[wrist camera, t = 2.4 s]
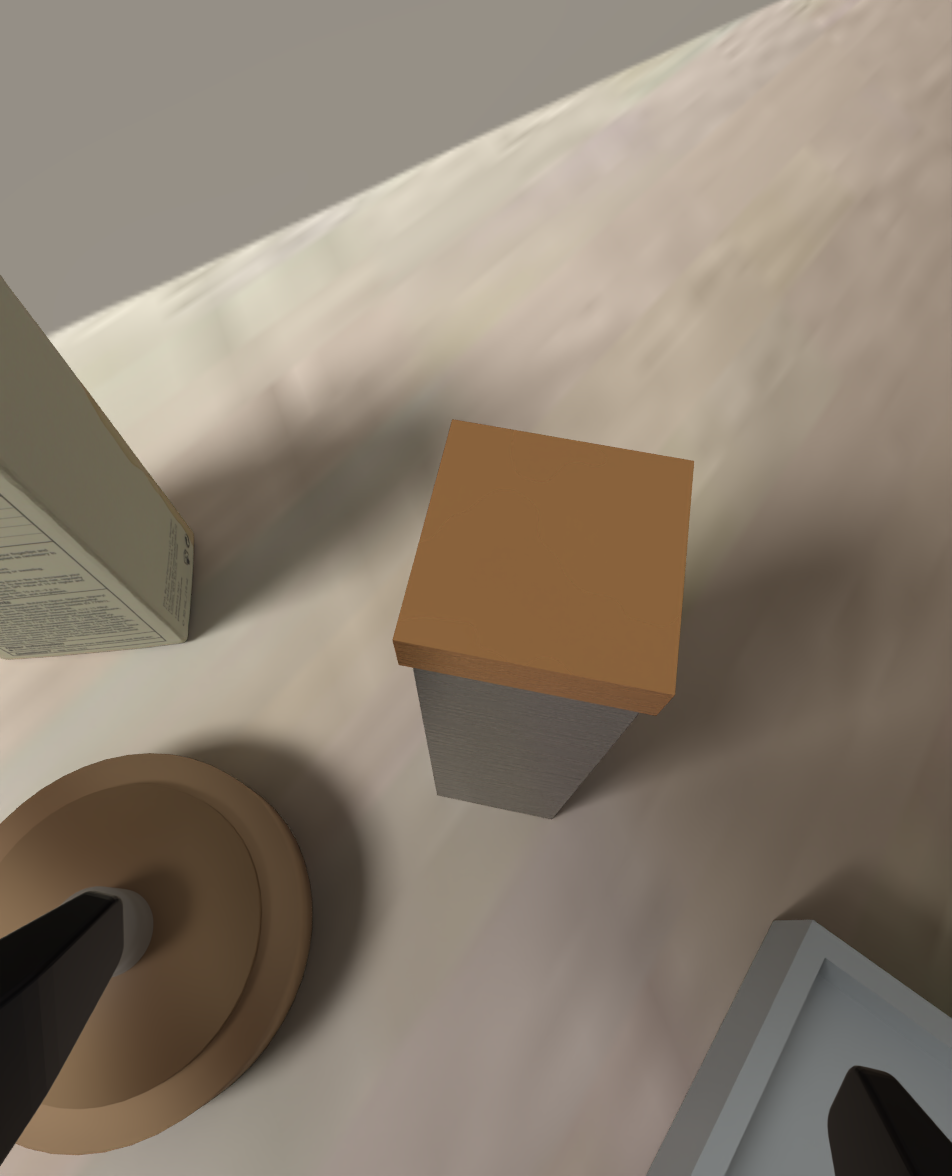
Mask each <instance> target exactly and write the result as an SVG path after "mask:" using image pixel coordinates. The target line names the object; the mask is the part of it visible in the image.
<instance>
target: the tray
mask: <svg viewBox="0 0 952 1176" xmlns="http://www.w3.org/2000/svg"><path fill="white" fill-rule="evenodd" d="M855 1065H859V1066H864V1067H868V1068H873V1069H877V1070H881V1071H885V1072H887V1073H889V1074H891V1075H892V1076H893V1077H894V1078H896V1079H897V1080H898V1081H899V1083H900V1084H901V1085H902V1086H903V1087H904V1088H905V1089H906V1091H907V1092H908V1093H909V1094H910V1095H911V1096H912V1097H913V1099H914V1100H915V1101H916V1102H917V1103H918V1104H919V1105H920V1107H921V1108H922V1109H923V1110H924V1111H925V1112H926V1114H927V1115H928V1116H929V1117H930V1118H931V1119H932V1120H933V1122H934V1123H935V1124H936V1125H937V1126H938V1127H939V1128H940V1130H941V1131H942V1132H943V1133H944V1134H945V1135H946V1136H947V1138H948V1139H949V1140H950V1141H951V1142H952V1018H950V1017H949V1016H948V1015H946V1014H945V1013H943V1012H942V1011H941V1010H939V1009H938V1008H936V1007H935V1006H934V1005H932V1004H931V1003H929V1002H928V1001H927V1000H925V999H924V998H922V997H921V996H919V995H918V994H917V993H915V992H914V991H912V990H911V989H910V988H908V987H907V986H905V985H904V984H903V983H901V982H900V981H898V980H897V979H896V978H894V977H893V976H891V975H890V974H889V973H887V972H886V971H884V970H883V969H882V968H880V967H879V966H877V965H876V964H874V963H873V962H872V961H870V960H869V959H867V958H866V957H865V956H863V955H862V954H860V953H859V952H858V951H856V950H855V949H853V948H852V947H851V946H849V945H848V944H846V943H845V942H844V941H842V940H841V939H839V938H838V937H836V936H835V935H834V934H832V933H831V932H829V931H828V930H827V929H825V928H824V927H822V926H821V925H820V924H818V923H817V922H815V921H814V920H777V921H773V923H772V925H771V927H770V929H769V931H768V933H767V935H766V937H765V939H764V941H763V943H762V945H761V947H760V949H759V951H758V953H757V955H756V957H755V959H754V961H753V963H752V965H751V967H750V969H749V971H748V973H747V975H746V977H745V979H744V981H743V983H742V985H741V987H740V989H739V991H738V993H737V995H736V997H735V999H734V1001H733V1003H732V1005H731V1007H730V1009H729V1011H728V1013H727V1015H726V1017H725V1019H724V1021H723V1023H722V1025H721V1027H720V1029H719V1031H718V1033H717V1035H716V1037H715V1039H714V1041H713V1043H712V1045H711V1047H710V1049H709V1051H708V1053H707V1055H706V1057H705V1059H704V1061H703V1063H702V1065H701V1067H700V1069H699V1071H698V1073H697V1075H696V1077H695V1079H694V1081H693V1083H692V1085H691V1087H690V1089H689V1091H688V1093H687V1095H686V1097H685V1099H684V1101H683V1103H682V1105H681V1107H680V1109H679V1111H678V1113H677V1115H676V1117H675V1119H674V1121H673V1123H672V1125H671V1127H670V1129H669V1131H668V1133H667V1135H666V1137H665V1139H664V1141H663V1143H662V1145H661V1147H660V1149H659V1151H658V1153H657V1155H656V1157H655V1159H654V1161H653V1163H652V1165H651V1167H650V1169H649V1171H648V1173H647V1175H646V1176H835V1173H834V1167H833V1161H832V1155H831V1149H830V1143H829V1138H828V1129H827V1121H828V1114H829V1110H830V1107H831V1105H832V1103H833V1101H834V1099H835V1097H836V1094H837V1092H838V1090H839V1088H840V1086H841V1084H842V1082H843V1080H844V1078H845V1075H846V1073H847V1072H848V1070H849V1069H850V1068H851V1067H853V1066H855Z"/></svg>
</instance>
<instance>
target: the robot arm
mask: <svg viewBox="0 0 952 1176" xmlns="http://www.w3.org/2000/svg"><path fill="white" fill-rule="evenodd" d="M123 949H124V917H123V902H122V900H121V898H120V897H118V896H116V895H112V894H108V893H103V892H99V891H87V892H84V893H82V894H80V895H78V896H76V897H75V898H73V899H71V900H69V901H67V902H65V903H64V904H62V905H60V906H58V907H56V908H55V909H53V910H51V911H49V912H47V913H46V914H44V915H42V916H40V917H38V918H37V919H35V920H33V921H31V922H29V923H28V924H26V925H24V926H22V927H20V928H19V929H17V930H15V931H13V932H11V933H10V934H8V935H6V936H4V937H2V938H0V1166H1V1164H2V1163H3V1161H4V1160H5V1158H6V1157H7V1155H8V1154H9V1152H10V1151H11V1149H12V1148H13V1146H14V1145H15V1143H16V1142H17V1140H18V1139H19V1137H20V1136H21V1134H22V1133H23V1131H24V1130H25V1128H26V1127H27V1125H28V1124H29V1122H30V1121H31V1119H32V1118H33V1116H34V1114H35V1113H36V1111H37V1110H38V1108H39V1107H40V1105H41V1103H42V1102H43V1100H44V1099H45V1097H46V1096H47V1094H48V1092H49V1090H50V1089H51V1087H52V1085H53V1083H54V1082H55V1080H56V1078H57V1076H58V1075H59V1073H60V1071H61V1069H62V1068H63V1066H64V1064H65V1062H66V1060H67V1058H68V1056H69V1055H70V1053H71V1051H72V1049H73V1047H74V1045H75V1044H76V1042H77V1040H78V1038H79V1036H80V1034H81V1033H82V1031H83V1029H84V1027H85V1025H86V1023H87V1022H88V1020H89V1018H90V1016H91V1014H92V1012H93V1011H94V1009H95V1007H96V1005H97V1003H98V1001H99V1000H100V998H101V996H102V994H103V992H104V990H105V988H106V987H107V985H108V983H109V981H110V979H111V977H112V976H113V974H114V972H115V970H116V968H117V966H118V964H119V962H120V959H121V957H122V953H123ZM827 1129H828V1138H829V1143H830V1149H831V1155H832V1161H833V1167H834V1173H835V1176H952V1142H951V1141H950V1140H949V1139H948V1138H947V1136H946V1135H945V1134H944V1133H943V1132H942V1131H941V1130H940V1128H939V1127H938V1126H937V1125H936V1124H935V1123H934V1122H933V1120H932V1119H931V1118H930V1117H929V1116H928V1115H927V1114H926V1112H925V1111H924V1110H923V1109H922V1108H921V1107H920V1105H919V1104H918V1103H917V1102H916V1101H915V1100H914V1099H913V1097H912V1096H911V1095H910V1094H909V1093H908V1092H907V1091H906V1089H905V1088H904V1087H903V1086H902V1085H901V1084H900V1083H899V1081H898V1080H897V1079H896V1078H894V1077H893V1076H892V1075H891V1074H889V1073H887V1072H885V1071H881V1070H877V1069H873V1068H868V1067H864V1066H859V1065H855V1066H853V1067H851V1068H850V1069H849V1070H848V1072H847V1073H846V1075H845V1078H844V1080H843V1082H842V1084H841V1086H840V1088H839V1090H838V1092H837V1094H836V1097H835V1099H834V1101H833V1103H832V1105H831V1107H830V1110H829V1114H828V1121H827Z"/></svg>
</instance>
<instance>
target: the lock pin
mask: <svg viewBox="0 0 952 1176" xmlns="http://www.w3.org/2000/svg"><path fill="white" fill-rule="evenodd" d="M693 469H694V461H691V460H685V459H680V458H674V457H668V456H662V455H656V454H651V453H645V452H639V451H633V450H627V449H622V448H616V447H610V446H604V445H598V444H593V443H587V442H581V441H575V440H569V439H564V438H558V437H552V436H546V435H540V434H535V433H529V432H523V431H517V430H511V429H506V428H500V427H494V426H488V425H482V424H477V423H471V422H465V421H459V420H453V419H452V422H451V426H450V430H449V433H448V437H447V441H446V444H445V448H444V452H443V456H442V459H441V463H440V467H439V470H438V474H437V478H436V481H435V485H434V489H433V492H432V496H431V500H430V504H429V507H428V511H427V515H426V518H425V522H424V526H423V529H422V533H421V537H420V541H419V544H418V548H417V552H416V555H415V559H414V563H413V566H412V570H411V574H410V577H409V581H408V585H407V589H406V592H405V596H404V600H403V603H402V607H401V611H400V614H399V618H398V622H397V625H396V629H395V633H394V637H393V644H394V648H395V652H396V656H397V660H398V664H399V665H402V666H407V667H412V668H413V671H414V676H415V681H416V686H417V692H418V697H419V702H420V707H421V713H422V718H423V723H424V728H425V734H426V739H427V744H428V749H429V755H430V760H431V765H432V770H433V776H434V781H435V786H436V791H437V795H439V796H444V797H448V798H453V799H458V800H462V801H467V802H472V803H477V804H481V805H486V806H491V807H496V808H500V809H505V810H510V811H515V812H519V813H524V814H529V815H534V816H538V817H543V818H548V819H552V818H553V817H554V816H555V815H556V814H557V812H558V811H559V810H560V809H561V807H562V806H563V805H564V804H565V803H566V801H567V800H568V799H569V798H570V797H571V795H572V794H573V793H574V792H575V790H576V789H577V788H578V787H579V786H580V784H581V783H582V782H583V781H584V779H585V778H586V777H587V776H588V775H589V773H590V772H591V771H592V770H593V769H594V767H595V766H596V765H597V764H598V762H599V761H600V760H601V759H602V758H603V756H604V755H605V754H606V753H607V751H608V750H609V749H610V748H611V747H612V745H613V744H614V743H615V742H616V741H617V739H618V738H619V737H620V736H621V734H622V733H623V732H624V731H625V730H626V728H627V727H628V726H629V725H630V723H631V722H632V721H633V720H634V719H635V717H636V716H637V715H638V714H639V713H644V714H649V715H654V716H656V715H657V714H658V713H659V712H660V711H661V710H662V709H663V708H664V707H665V705H666V704H667V703H668V702H669V701H670V700H671V699H672V698H673V697H674V696H675V688H676V675H677V663H678V651H679V639H680V627H681V615H682V602H683V590H684V578H685V566H686V554H687V542H688V529H689V517H690V505H691V493H692V481H693Z"/></svg>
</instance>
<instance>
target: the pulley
mask: <svg viewBox="0 0 952 1176" xmlns="http://www.w3.org/2000/svg"><path fill="white" fill-rule="evenodd" d="M87 891H99V892H103V893H108V894H112V895H116V896H118V897H120V898H121V900H122V902H123V917H124V949H123V953H122V957H121V959H120V962H119V964H118V966H117V968H116V970H115V972H114V974H113V976H112V977H111V979H110V981H109V983H108V985H107V987H106V988H105V990H104V992H103V994H102V996H101V998H100V1000H99V1001H98V1003H97V1005H96V1007H95V1009H94V1011H93V1012H92V1014H91V1016H90V1018H89V1020H88V1022H87V1023H86V1025H85V1027H84V1029H83V1031H82V1033H81V1034H80V1036H79V1038H78V1040H77V1042H76V1044H75V1045H74V1047H73V1049H72V1051H71V1053H70V1055H69V1056H68V1058H67V1060H66V1062H65V1064H64V1066H63V1068H62V1069H61V1071H60V1073H59V1075H58V1076H57V1078H56V1080H55V1082H54V1083H53V1085H52V1087H51V1089H50V1090H49V1092H48V1094H47V1096H46V1097H45V1099H44V1100H43V1102H42V1103H41V1105H40V1107H39V1108H38V1110H37V1111H36V1113H35V1114H34V1116H33V1118H32V1119H31V1121H30V1122H29V1124H28V1125H27V1127H26V1128H25V1130H24V1131H23V1133H22V1134H21V1136H20V1137H19V1139H18V1140H17V1142H16V1144H18V1145H21V1146H23V1147H25V1148H28V1149H33V1150H37V1151H42V1152H46V1153H50V1154H66V1155H84V1154H93V1153H102V1152H107V1151H111V1150H115V1149H119V1148H123V1147H126V1146H130V1145H133V1144H135V1143H138V1142H140V1141H143V1140H145V1139H147V1138H150V1137H152V1136H155V1135H157V1134H159V1133H161V1132H162V1131H164V1130H166V1129H167V1128H169V1127H171V1126H173V1125H174V1124H176V1123H178V1122H180V1121H181V1120H183V1119H184V1118H186V1117H187V1116H189V1115H190V1114H192V1113H193V1112H195V1111H196V1110H198V1109H199V1108H201V1107H202V1106H203V1105H205V1104H206V1103H208V1102H209V1101H211V1100H212V1099H213V1098H215V1097H216V1096H217V1095H219V1094H220V1093H221V1092H223V1091H224V1090H225V1089H227V1088H228V1087H229V1086H231V1085H232V1084H233V1083H234V1082H235V1081H236V1080H237V1079H238V1078H239V1077H240V1076H241V1075H242V1074H243V1073H244V1072H245V1071H246V1070H247V1069H248V1068H249V1067H251V1065H252V1064H253V1063H254V1062H255V1061H256V1059H257V1058H258V1057H259V1056H260V1055H261V1053H262V1052H263V1051H264V1050H265V1048H266V1047H267V1046H268V1045H269V1043H270V1042H271V1040H272V1039H273V1037H274V1035H275V1034H276V1032H277V1031H278V1029H279V1028H280V1026H281V1025H282V1023H283V1021H284V1019H285V1017H286V1015H287V1013H288V1011H289V1009H290V1007H291V1005H292V1003H293V1001H294V999H295V997H296V994H297V991H298V988H299V986H300V983H301V980H302V978H303V975H304V971H305V967H306V963H307V958H308V954H309V949H310V941H311V934H312V897H311V887H310V881H309V877H308V873H307V869H306V865H305V861H304V859H303V856H302V854H301V851H300V848H299V846H298V843H297V842H296V840H295V838H294V836H293V834H292V833H291V831H290V829H289V827H288V826H287V824H286V823H285V822H284V820H283V819H282V818H281V816H280V815H279V814H278V813H277V811H276V810H275V809H274V808H273V807H272V806H271V805H270V804H269V803H268V802H267V801H266V800H264V799H263V798H262V797H261V796H260V795H258V794H257V793H255V792H254V791H253V790H251V789H250V788H248V787H247V786H245V785H244V784H242V783H241V782H239V781H238V780H236V779H235V778H233V777H232V776H230V775H229V774H227V773H225V772H223V771H221V770H219V769H217V768H215V767H213V766H211V765H209V764H206V763H203V762H200V761H197V760H194V759H191V758H187V757H182V756H176V755H171V754H152V753H148V754H135V755H126V756H121V757H116V758H111V759H106V760H103V761H100V762H97V763H94V764H91V765H88V766H85V767H83V768H80V769H78V770H76V771H74V772H72V773H70V774H67V775H65V776H63V777H61V778H60V779H58V780H56V781H55V782H53V783H51V784H50V785H48V786H46V787H45V788H43V789H41V790H40V791H39V792H37V793H36V794H35V795H33V796H32V797H31V798H29V799H28V800H27V801H25V802H24V803H23V804H21V805H20V806H19V807H18V808H17V809H16V810H15V811H14V812H13V813H11V814H10V815H9V816H8V817H7V818H6V819H5V820H4V821H3V822H2V823H1V824H0V938H2V937H4V936H6V935H8V934H10V933H11V932H13V931H15V930H17V929H19V928H20V927H22V926H24V925H26V924H28V923H29V922H31V921H33V920H35V919H37V918H38V917H40V916H42V915H44V914H46V913H47V912H49V911H51V910H53V909H55V908H56V907H58V906H60V905H62V904H64V903H65V902H67V901H69V900H71V899H73V898H75V897H76V896H78V895H80V894H82V893H84V892H87Z"/></svg>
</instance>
